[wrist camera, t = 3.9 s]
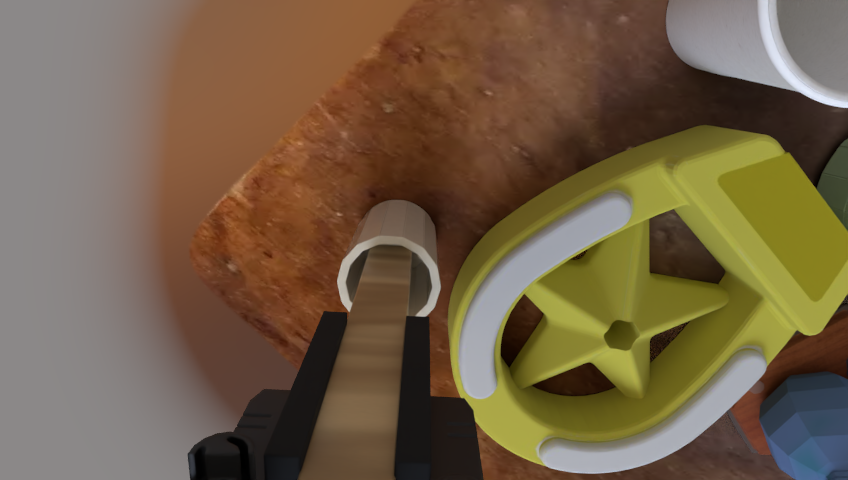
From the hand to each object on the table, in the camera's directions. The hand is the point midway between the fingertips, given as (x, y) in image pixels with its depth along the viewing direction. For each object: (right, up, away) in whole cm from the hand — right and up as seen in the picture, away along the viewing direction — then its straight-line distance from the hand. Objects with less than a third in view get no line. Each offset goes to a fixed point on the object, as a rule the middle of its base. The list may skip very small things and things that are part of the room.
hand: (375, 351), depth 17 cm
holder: (0, +4, +13) cm, 13 cm away
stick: (0, +3, +8) cm, 8 cm away
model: (+27, -5, +16) cm, 32 cm away
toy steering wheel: (+13, 0, +14) cm, 19 cm away
